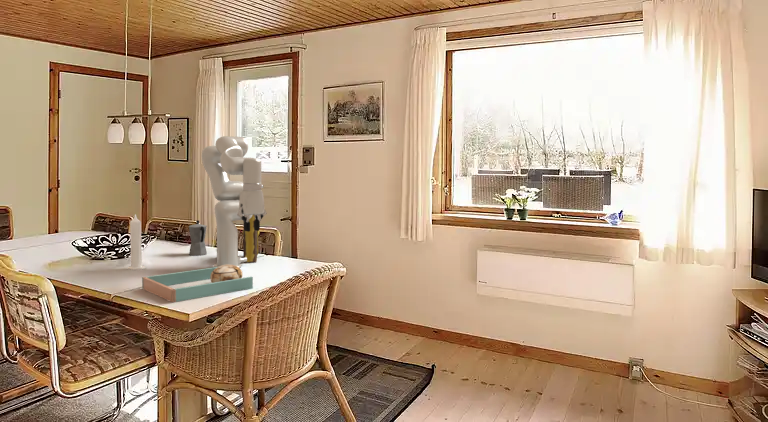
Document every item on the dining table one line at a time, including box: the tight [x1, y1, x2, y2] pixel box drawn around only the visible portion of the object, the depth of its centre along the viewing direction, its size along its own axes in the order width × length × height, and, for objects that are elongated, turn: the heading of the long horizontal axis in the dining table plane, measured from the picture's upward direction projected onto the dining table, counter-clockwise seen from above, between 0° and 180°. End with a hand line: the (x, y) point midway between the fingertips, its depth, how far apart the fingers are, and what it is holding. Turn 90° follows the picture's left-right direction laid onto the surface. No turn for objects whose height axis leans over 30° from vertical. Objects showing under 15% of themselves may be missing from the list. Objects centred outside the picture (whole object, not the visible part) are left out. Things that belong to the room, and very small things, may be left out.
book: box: [242, 215, 260, 264], centre depth 279 cm, size 22×8×25 cm, turn 12°
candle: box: [127, 213, 146, 271], centre depth 249 cm, size 7×7×25 cm
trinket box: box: [209, 264, 243, 283], centre depth 225 cm, size 13×15×8 cm
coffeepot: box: [188, 220, 208, 257], centre depth 287 cm, size 15×9×18 cm, turn 37°
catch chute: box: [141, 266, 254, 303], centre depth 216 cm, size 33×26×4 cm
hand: (252, 230), depth 232 cm, fingers open, 3 cm apart
